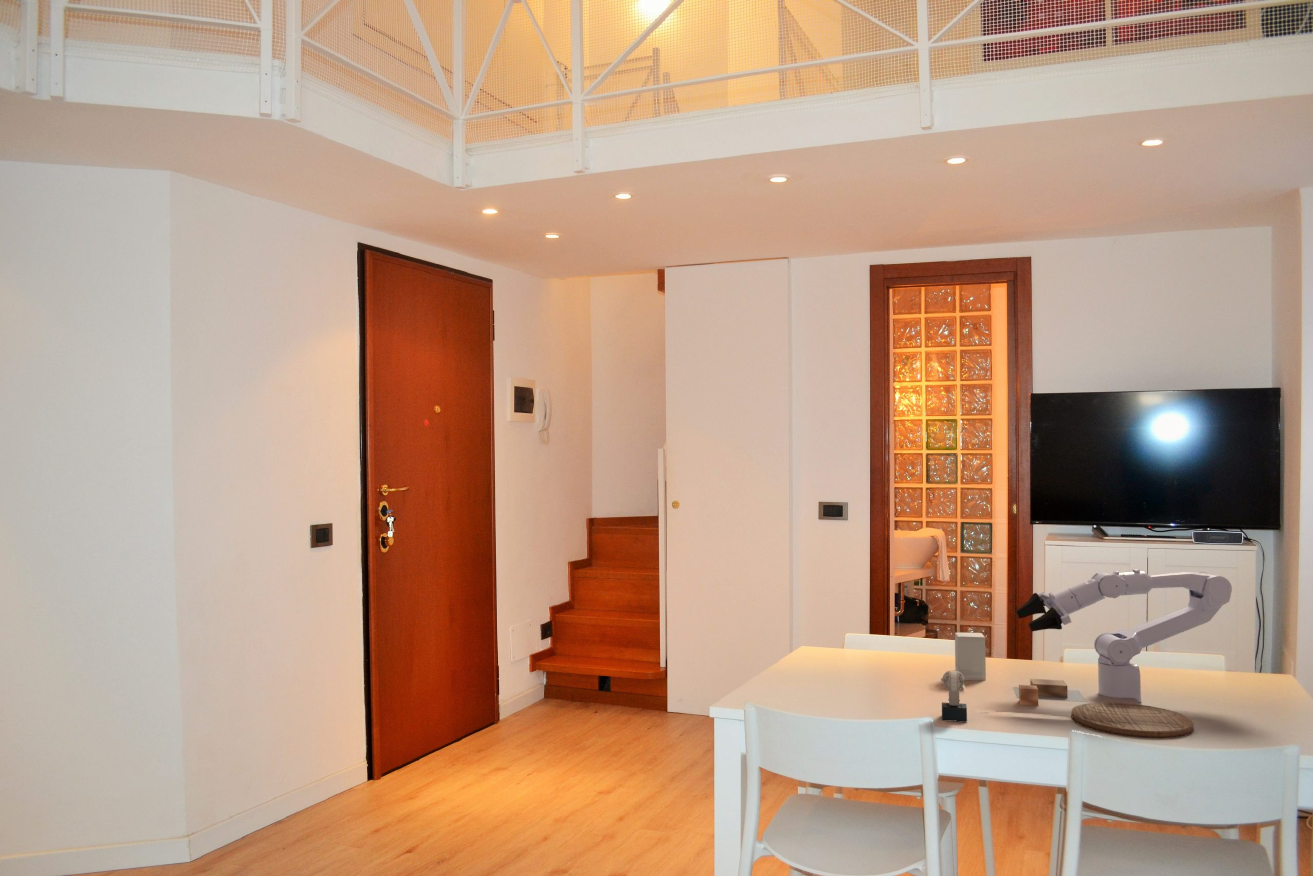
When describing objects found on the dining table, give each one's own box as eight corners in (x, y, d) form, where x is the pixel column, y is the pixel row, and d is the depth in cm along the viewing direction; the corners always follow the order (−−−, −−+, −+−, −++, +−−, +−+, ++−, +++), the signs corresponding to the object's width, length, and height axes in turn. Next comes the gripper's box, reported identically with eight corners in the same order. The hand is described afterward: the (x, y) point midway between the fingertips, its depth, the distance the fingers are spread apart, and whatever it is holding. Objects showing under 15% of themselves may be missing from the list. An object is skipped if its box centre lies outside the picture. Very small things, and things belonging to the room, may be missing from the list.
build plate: (1078, 694, 246) (1078, 690, 246) (1087, 705, 235) (1087, 701, 235) (1012, 691, 250) (1012, 687, 251) (1017, 702, 239) (1017, 698, 239)
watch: (966, 715, 227) (965, 668, 227) (967, 724, 219) (966, 675, 219) (941, 713, 228) (940, 667, 229) (941, 722, 221) (940, 674, 221)
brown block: (1063, 692, 245) (1063, 680, 245) (1067, 697, 239) (1067, 685, 239) (1030, 690, 247) (1030, 678, 247) (1033, 696, 241) (1033, 684, 241)
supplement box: (986, 684, 258) (985, 637, 259) (957, 683, 260) (957, 636, 260) (982, 678, 266) (982, 632, 266) (954, 677, 267) (954, 631, 267)
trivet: (1207, 743, 204) (1207, 734, 204) (1080, 735, 211) (1080, 726, 211) (1177, 714, 228) (1177, 706, 228) (1064, 707, 235) (1064, 699, 235)
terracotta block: (1036, 706, 235) (1036, 685, 235) (1038, 710, 231) (1038, 689, 231) (1019, 705, 236) (1018, 684, 236) (1020, 709, 232) (1020, 688, 232)
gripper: (1055, 575, 250) (1007, 596, 251) (1082, 598, 236) (1030, 620, 237) (1063, 597, 252) (1015, 618, 252) (1090, 622, 238) (1039, 644, 238)
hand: (1023, 621), depth 245 cm, fingers open, 7 cm apart
